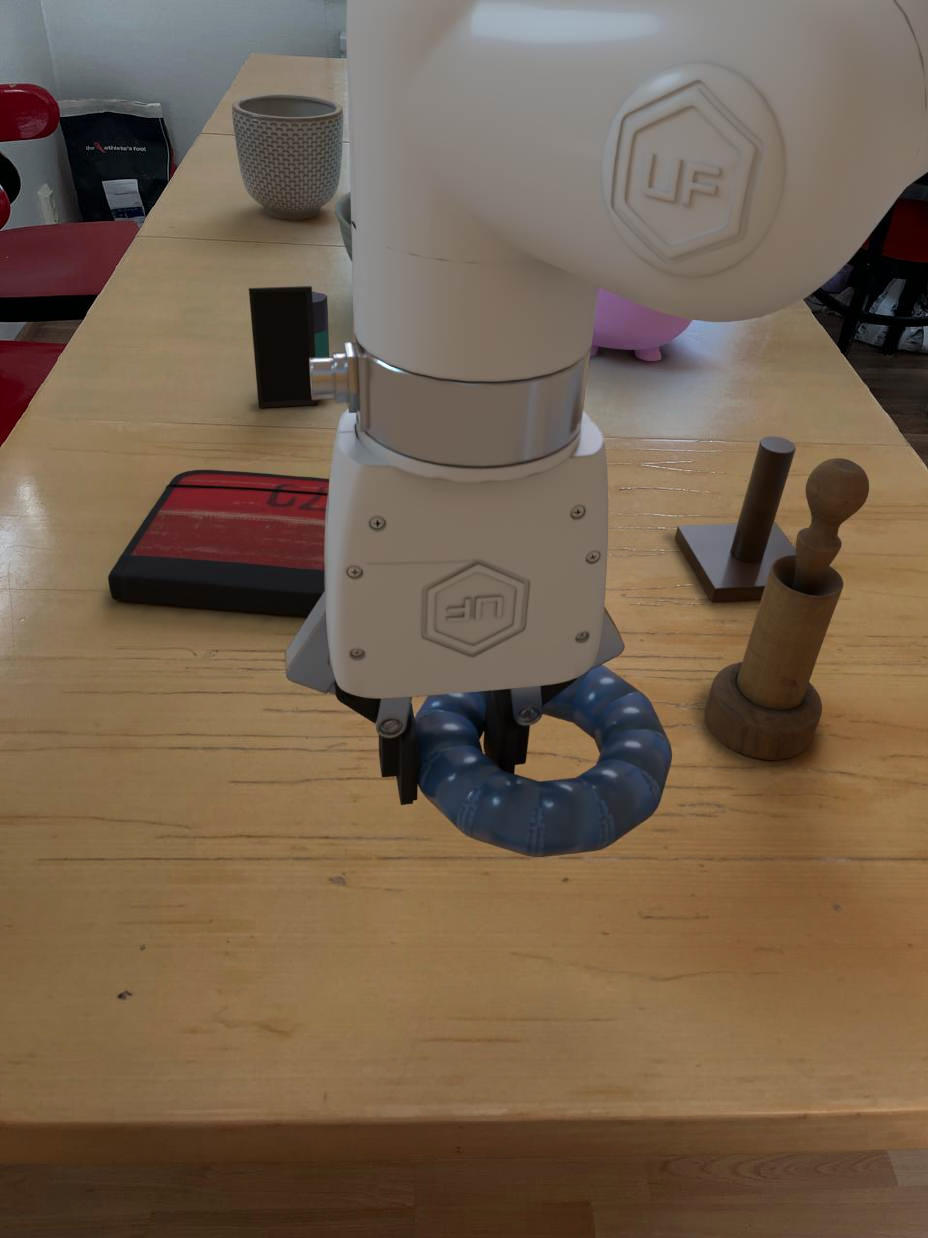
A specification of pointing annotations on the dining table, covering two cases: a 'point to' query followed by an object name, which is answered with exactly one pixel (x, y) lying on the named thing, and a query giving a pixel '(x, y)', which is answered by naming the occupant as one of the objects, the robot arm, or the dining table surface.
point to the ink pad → (229, 544)
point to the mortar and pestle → (789, 630)
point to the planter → (289, 151)
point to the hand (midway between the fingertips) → (451, 772)
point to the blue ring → (554, 808)
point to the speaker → (287, 342)
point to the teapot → (633, 326)
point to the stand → (744, 532)
